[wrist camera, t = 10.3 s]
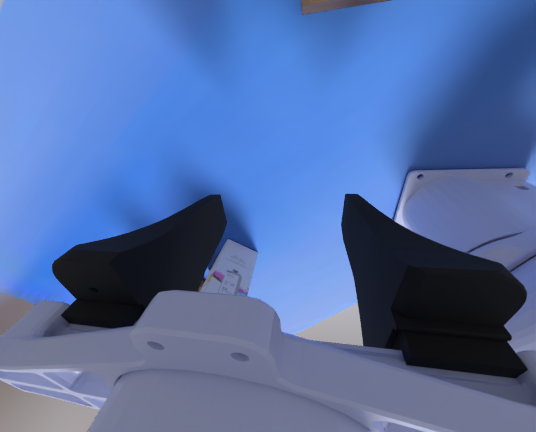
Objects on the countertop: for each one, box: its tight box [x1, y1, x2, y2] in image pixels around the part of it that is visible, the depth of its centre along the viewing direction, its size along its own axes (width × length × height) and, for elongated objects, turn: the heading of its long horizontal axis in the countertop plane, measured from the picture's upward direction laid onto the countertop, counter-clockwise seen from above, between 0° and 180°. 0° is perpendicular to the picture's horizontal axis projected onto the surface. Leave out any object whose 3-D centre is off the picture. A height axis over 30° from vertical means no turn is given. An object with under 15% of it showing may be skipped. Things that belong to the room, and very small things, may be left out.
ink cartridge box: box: [200, 239, 258, 296], centre depth 25 cm, size 9×5×15 cm, turn 152°
